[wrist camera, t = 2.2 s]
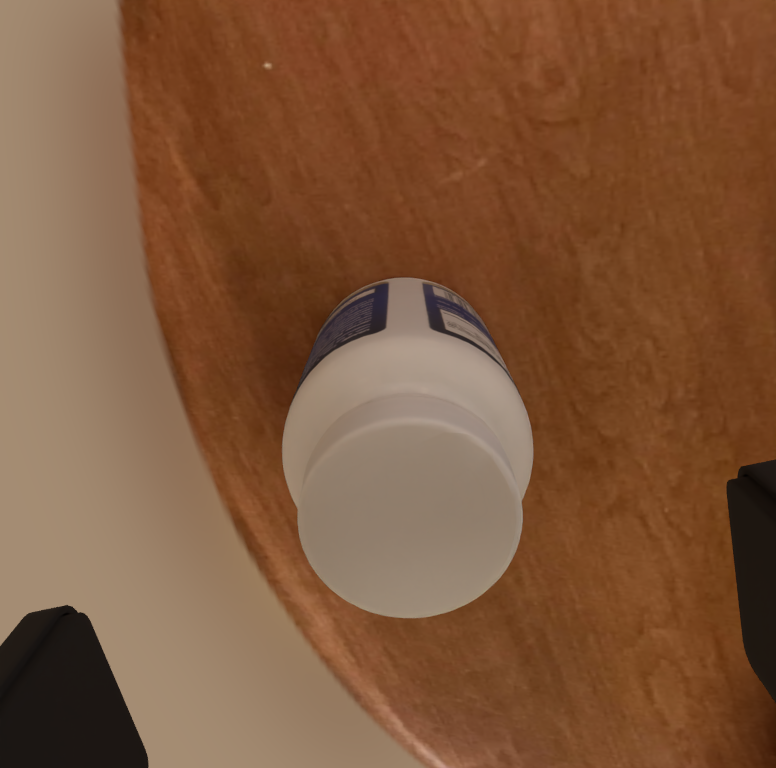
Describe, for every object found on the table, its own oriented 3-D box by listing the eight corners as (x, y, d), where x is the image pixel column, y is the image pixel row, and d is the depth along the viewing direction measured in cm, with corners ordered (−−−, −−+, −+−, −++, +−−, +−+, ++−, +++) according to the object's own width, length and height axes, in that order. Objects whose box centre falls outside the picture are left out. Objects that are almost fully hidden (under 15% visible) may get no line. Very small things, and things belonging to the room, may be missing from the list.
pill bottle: (320, 447, 23) (265, 655, 13) (309, 277, 21) (238, 382, 12) (492, 443, 23) (556, 651, 13) (495, 272, 21) (572, 374, 12)
